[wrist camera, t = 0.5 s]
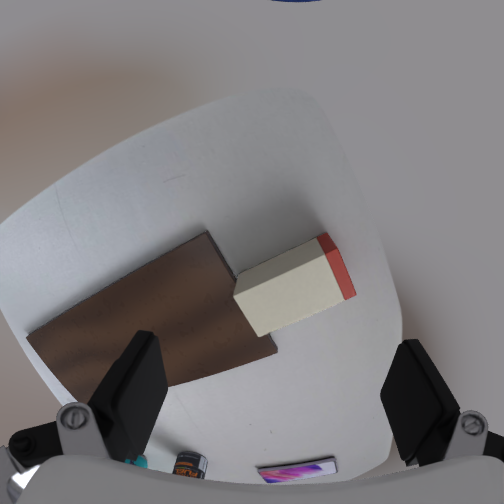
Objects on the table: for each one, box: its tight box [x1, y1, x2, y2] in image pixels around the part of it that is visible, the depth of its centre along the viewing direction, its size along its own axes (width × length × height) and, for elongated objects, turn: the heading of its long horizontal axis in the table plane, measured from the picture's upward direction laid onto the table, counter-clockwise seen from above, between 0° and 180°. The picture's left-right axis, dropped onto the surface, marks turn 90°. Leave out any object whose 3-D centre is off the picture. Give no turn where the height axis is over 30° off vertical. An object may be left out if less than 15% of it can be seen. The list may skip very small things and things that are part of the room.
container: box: [233, 233, 356, 337], centre depth 27 cm, size 5×10×5 cm, turn 118°
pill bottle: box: [172, 452, 208, 479], centre depth 38 cm, size 6×6×11 cm
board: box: [26, 231, 278, 404], centre depth 34 cm, size 16×39×1 cm, turn 118°
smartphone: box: [258, 458, 338, 483], centre depth 43 cm, size 7×1×15 cm
